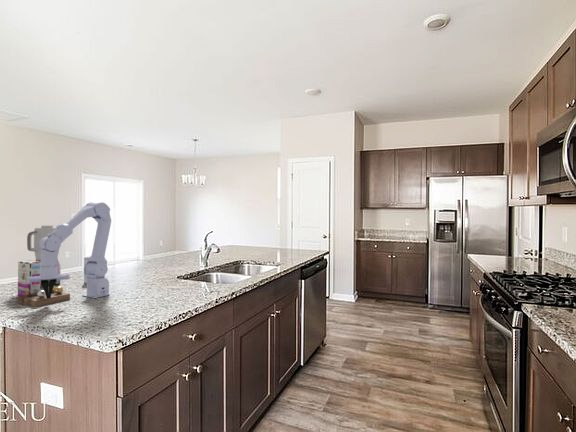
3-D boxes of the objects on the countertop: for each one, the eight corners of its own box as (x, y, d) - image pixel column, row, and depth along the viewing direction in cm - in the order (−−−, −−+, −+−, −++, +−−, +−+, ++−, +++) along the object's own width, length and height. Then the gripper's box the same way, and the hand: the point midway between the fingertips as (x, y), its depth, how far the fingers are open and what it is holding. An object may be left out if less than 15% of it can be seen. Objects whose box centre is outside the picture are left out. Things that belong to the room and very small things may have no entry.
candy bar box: (42, 297, 153) (42, 261, 153) (29, 299, 148) (29, 262, 148) (29, 294, 158) (29, 259, 158) (16, 296, 154) (17, 260, 154)
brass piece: (64, 293, 150) (64, 286, 150) (57, 295, 147) (57, 287, 147) (60, 292, 151) (60, 285, 151) (53, 294, 149) (53, 287, 149)
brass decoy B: (58, 292, 152) (58, 285, 152) (50, 293, 149) (50, 286, 149) (54, 291, 154) (54, 284, 154) (46, 292, 151) (46, 285, 151)
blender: (51, 281, 186) (52, 224, 186) (65, 284, 181) (66, 225, 181) (19, 287, 171) (20, 225, 171) (34, 289, 167) (34, 226, 166)
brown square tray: (69, 299, 150) (70, 293, 150) (34, 306, 137) (34, 300, 137) (51, 295, 156) (51, 290, 156) (15, 302, 143) (15, 296, 143)
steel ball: (48, 297, 143) (48, 289, 143) (39, 299, 140) (39, 291, 140) (43, 296, 144) (43, 289, 144) (35, 298, 141) (35, 290, 141)
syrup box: (93, 283, 184) (94, 257, 184) (83, 283, 184) (83, 257, 184) (99, 281, 190) (100, 255, 190) (89, 281, 190) (90, 255, 190)
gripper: (69, 263, 147) (69, 293, 147) (28, 265, 139) (28, 297, 140) (69, 265, 141) (68, 297, 141) (26, 267, 133) (25, 301, 134)
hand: (48, 297), depth 140 cm, fingers closed
